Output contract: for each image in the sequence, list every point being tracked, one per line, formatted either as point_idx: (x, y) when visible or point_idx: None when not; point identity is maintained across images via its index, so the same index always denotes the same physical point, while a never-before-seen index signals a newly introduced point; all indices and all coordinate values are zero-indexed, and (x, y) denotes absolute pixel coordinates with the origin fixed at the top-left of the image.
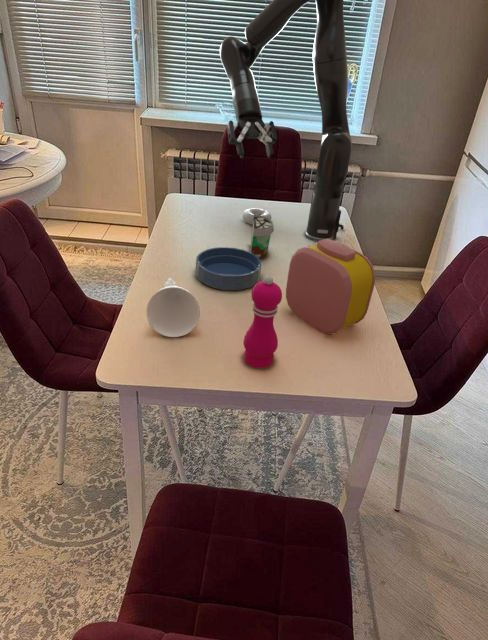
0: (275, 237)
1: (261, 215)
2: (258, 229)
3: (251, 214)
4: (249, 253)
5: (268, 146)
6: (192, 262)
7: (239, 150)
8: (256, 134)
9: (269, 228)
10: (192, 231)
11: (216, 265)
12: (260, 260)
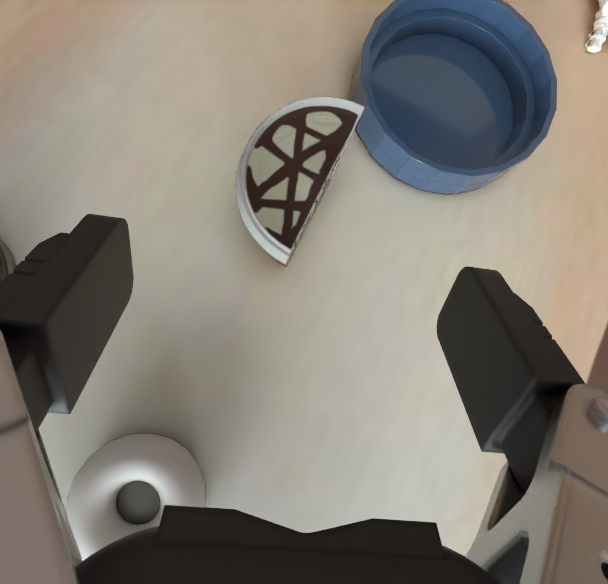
0: (151, 317)
1: (134, 464)
2: (344, 101)
3: (177, 485)
4: (375, 105)
5: (77, 285)
6: (508, 213)
7: (529, 315)
8: (223, 524)
9: (287, 108)
10: (441, 444)
11: (453, 164)
12: (363, 48)
